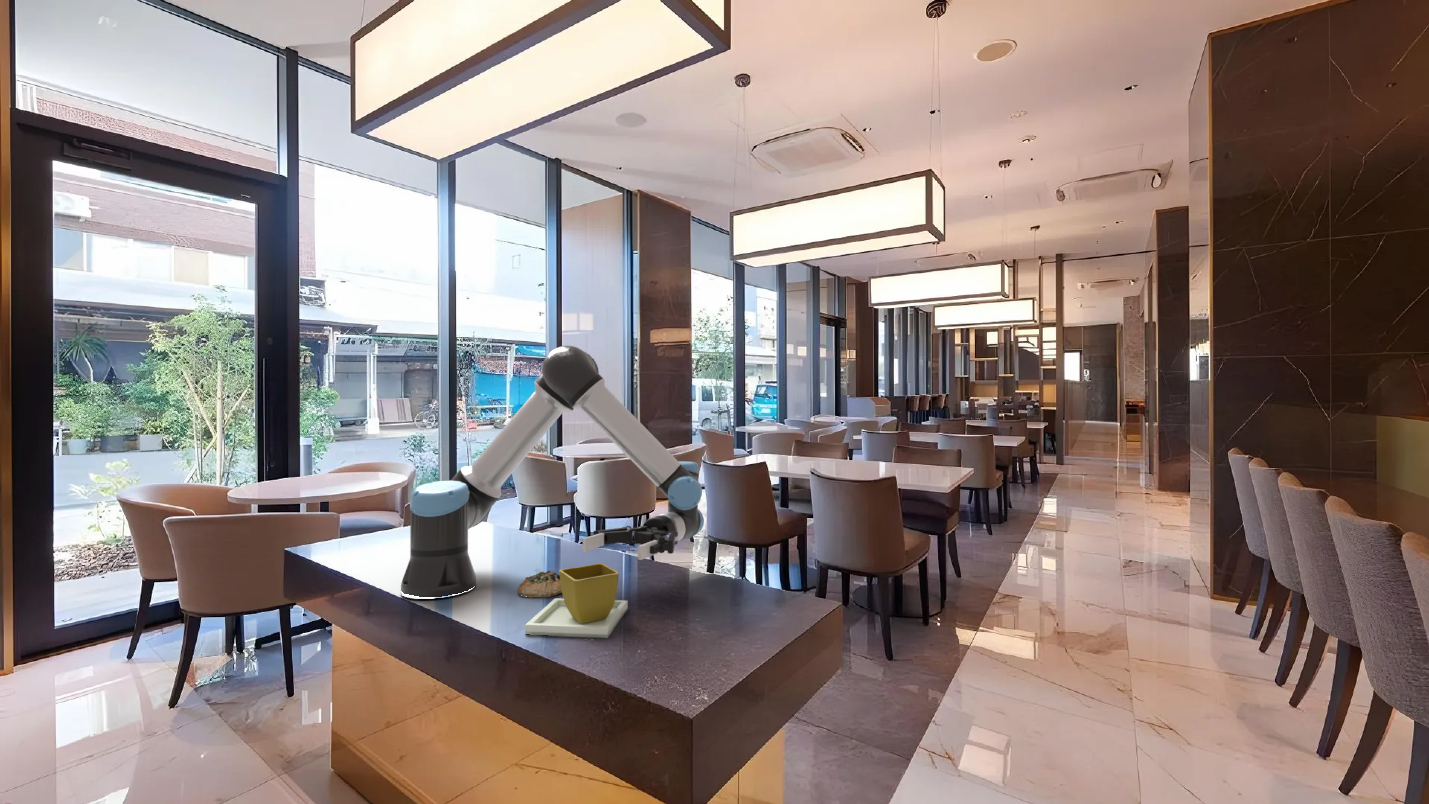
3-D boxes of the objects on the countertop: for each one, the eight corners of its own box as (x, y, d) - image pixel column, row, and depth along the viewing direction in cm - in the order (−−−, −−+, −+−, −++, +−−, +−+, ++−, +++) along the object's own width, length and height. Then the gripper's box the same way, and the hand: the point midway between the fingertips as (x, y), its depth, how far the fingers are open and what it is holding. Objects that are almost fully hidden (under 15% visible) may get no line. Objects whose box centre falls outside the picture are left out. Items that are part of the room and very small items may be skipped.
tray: (525, 634, 106) (525, 624, 106) (554, 607, 121) (555, 598, 121) (607, 638, 105) (607, 627, 105) (627, 609, 120) (627, 600, 120)
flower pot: (574, 630, 107) (574, 580, 107) (558, 616, 114) (558, 569, 114) (619, 621, 111) (619, 572, 112) (601, 607, 119) (601, 562, 119)
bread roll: (538, 581, 139) (540, 560, 139) (578, 593, 135) (580, 571, 135) (505, 596, 129) (507, 574, 129) (547, 610, 125) (549, 587, 124)
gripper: (710, 553, 136) (663, 575, 116) (618, 540, 146) (562, 559, 127) (711, 520, 136) (664, 537, 117) (619, 510, 146) (562, 524, 127)
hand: (611, 549), depth 122 cm, fingers open, 13 cm apart
